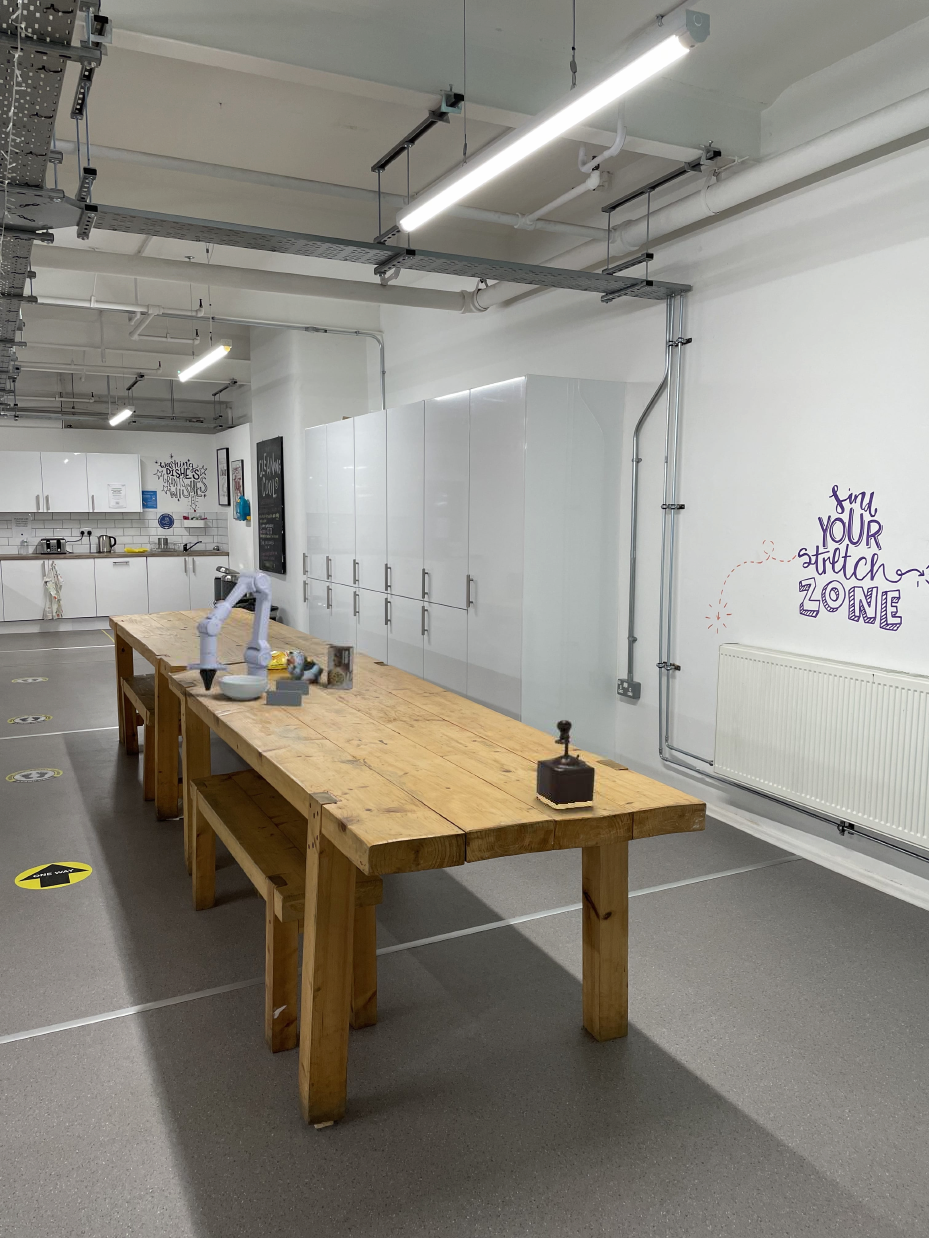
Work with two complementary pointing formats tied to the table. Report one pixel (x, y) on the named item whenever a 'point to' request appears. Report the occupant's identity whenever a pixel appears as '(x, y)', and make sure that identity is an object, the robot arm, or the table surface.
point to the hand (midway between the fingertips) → (207, 690)
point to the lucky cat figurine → (303, 668)
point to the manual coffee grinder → (565, 774)
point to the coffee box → (340, 667)
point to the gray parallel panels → (287, 693)
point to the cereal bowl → (242, 686)
